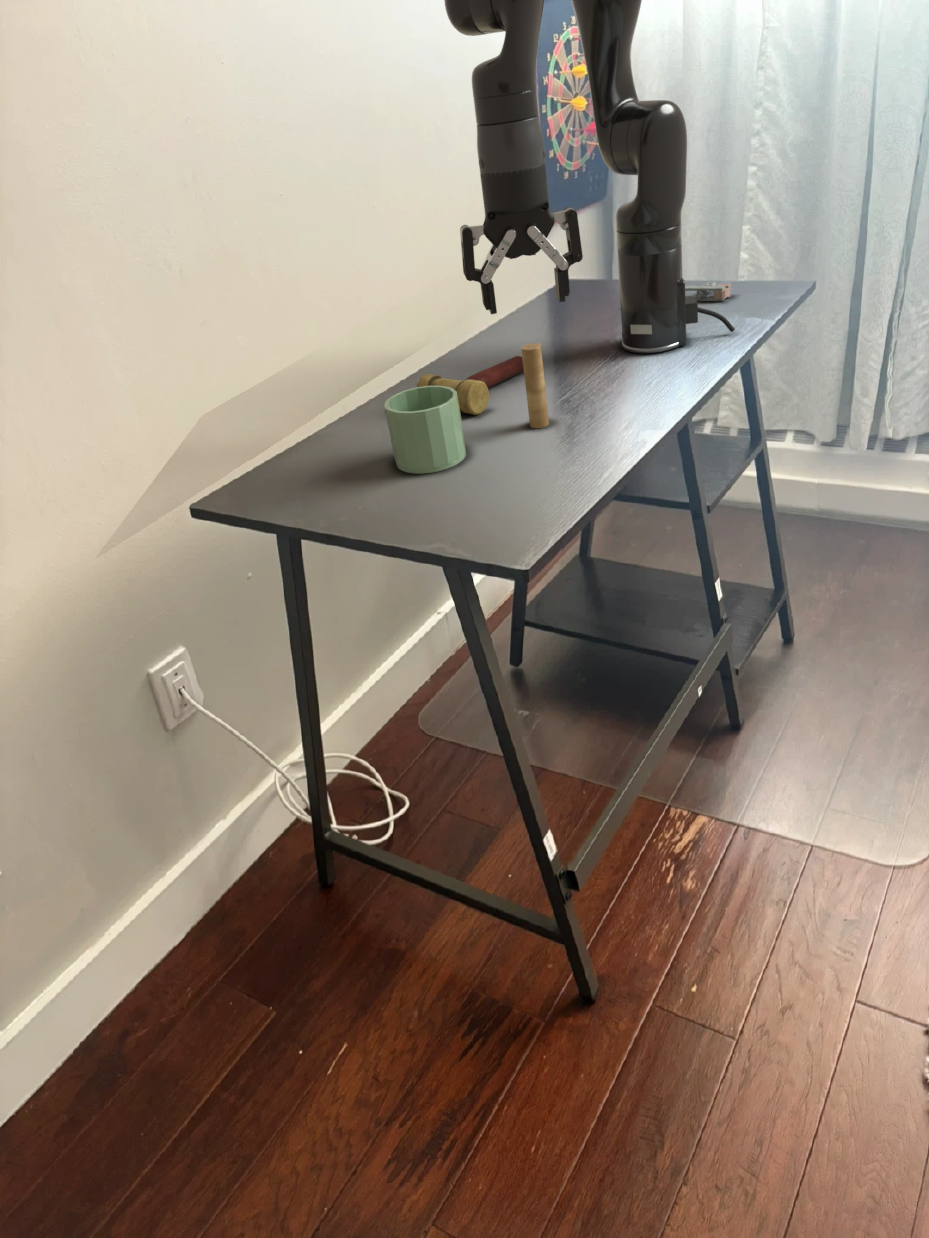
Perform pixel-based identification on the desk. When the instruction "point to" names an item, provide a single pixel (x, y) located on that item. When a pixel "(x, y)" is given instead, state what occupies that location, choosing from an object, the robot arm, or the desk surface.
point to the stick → (535, 385)
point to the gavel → (476, 384)
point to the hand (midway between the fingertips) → (526, 306)
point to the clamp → (719, 290)
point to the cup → (425, 429)
